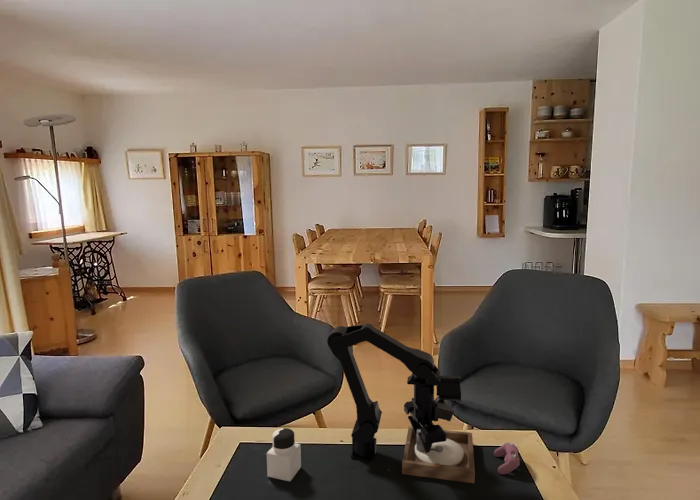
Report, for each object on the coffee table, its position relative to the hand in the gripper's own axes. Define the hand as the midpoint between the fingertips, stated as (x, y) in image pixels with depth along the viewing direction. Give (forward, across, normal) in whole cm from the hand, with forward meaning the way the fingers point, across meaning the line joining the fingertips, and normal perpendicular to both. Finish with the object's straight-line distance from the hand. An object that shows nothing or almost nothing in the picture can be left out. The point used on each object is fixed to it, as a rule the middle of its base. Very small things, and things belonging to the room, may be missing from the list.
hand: (424, 447), depth 132 cm
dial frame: (+4, -1, -4) cm, 6 cm away
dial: (+2, -1, -4) cm, 5 cm away
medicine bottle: (+3, +3, +40) cm, 41 cm away
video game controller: (+4, -8, -22) cm, 23 cm away
